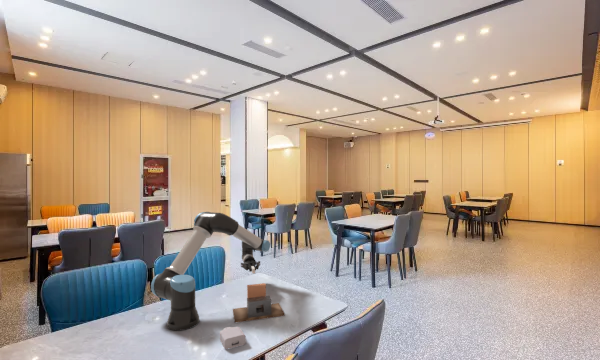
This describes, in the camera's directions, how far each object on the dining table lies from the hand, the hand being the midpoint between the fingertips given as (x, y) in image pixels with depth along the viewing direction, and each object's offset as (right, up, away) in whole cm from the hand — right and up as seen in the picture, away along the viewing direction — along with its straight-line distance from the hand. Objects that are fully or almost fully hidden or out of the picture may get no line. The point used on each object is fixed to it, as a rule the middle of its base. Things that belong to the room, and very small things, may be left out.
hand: (253, 271), depth 184 cm
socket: (+6, -16, -22) cm, 28 cm away
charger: (-4, -18, -45) cm, 48 cm away
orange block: (+4, -16, -16) cm, 23 cm away
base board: (+5, -18, -18) cm, 26 cm away
